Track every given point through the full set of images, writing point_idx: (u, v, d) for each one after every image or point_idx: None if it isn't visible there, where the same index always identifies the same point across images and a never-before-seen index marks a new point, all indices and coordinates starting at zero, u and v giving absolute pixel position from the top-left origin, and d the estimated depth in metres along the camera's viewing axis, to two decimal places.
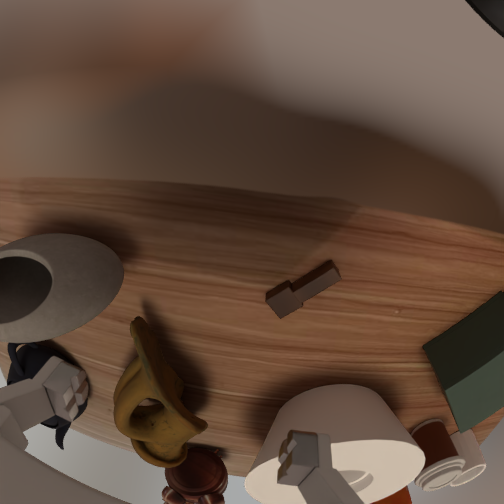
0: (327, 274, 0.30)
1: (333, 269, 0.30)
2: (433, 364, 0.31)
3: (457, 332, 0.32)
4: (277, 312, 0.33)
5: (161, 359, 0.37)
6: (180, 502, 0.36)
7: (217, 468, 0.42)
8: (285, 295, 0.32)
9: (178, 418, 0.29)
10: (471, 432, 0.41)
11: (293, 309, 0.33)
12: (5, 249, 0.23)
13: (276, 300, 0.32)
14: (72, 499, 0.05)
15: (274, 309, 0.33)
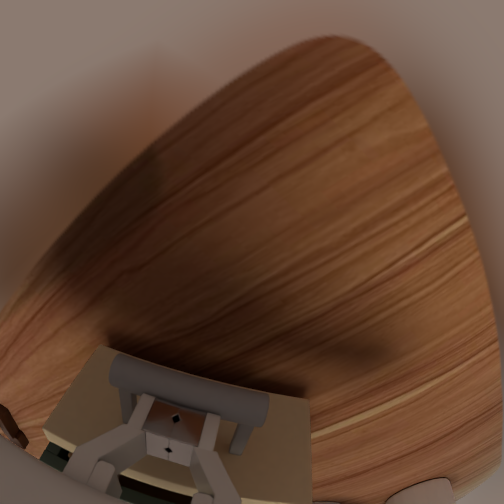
0: None
1: None
2: None
3: None
4: (19, 446, 0.26)
5: None
6: None
7: None
8: None
9: None
10: (425, 489, 0.21)
11: (18, 443, 0.26)
12: None
13: (11, 439, 0.26)
14: (72, 499, 0.05)
15: (16, 444, 0.26)
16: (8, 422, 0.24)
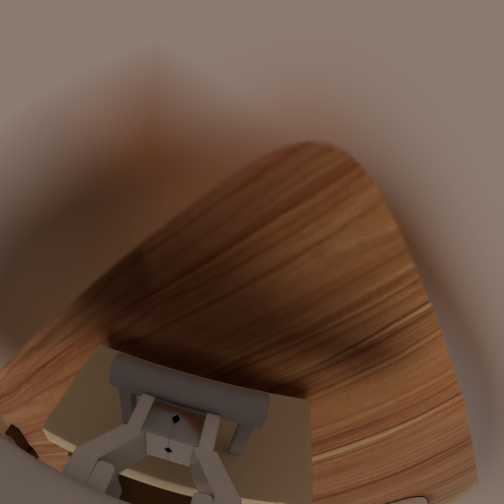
0: (8, 437, 0.25)
1: (5, 434, 0.25)
2: None
3: None
4: None
5: None
6: None
7: None
8: None
9: None
10: None
11: None
12: None
13: None
14: (72, 499, 0.05)
15: None
16: (20, 441, 0.26)
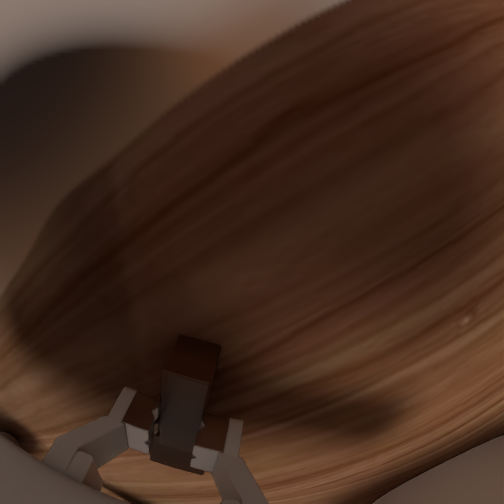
0: (167, 390, 0.09)
1: (166, 374, 0.09)
2: None
3: None
4: (186, 469, 0.12)
5: None
6: None
7: None
8: (162, 446, 0.12)
9: None
10: None
11: None
12: None
13: (161, 456, 0.12)
14: (72, 499, 0.05)
15: (176, 467, 0.12)
16: (208, 397, 0.11)
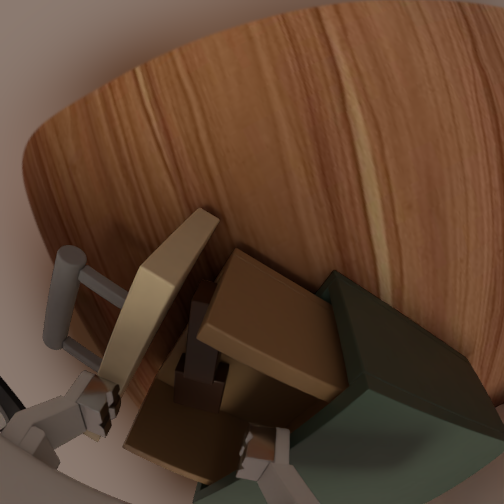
0: (193, 318, 0.13)
1: (193, 303, 0.13)
2: None
3: None
4: (204, 408, 0.16)
5: None
6: None
7: None
8: (185, 383, 0.16)
9: None
10: None
11: (218, 394, 0.16)
12: None
13: (183, 395, 0.16)
14: (72, 499, 0.05)
15: (196, 407, 0.16)
16: None
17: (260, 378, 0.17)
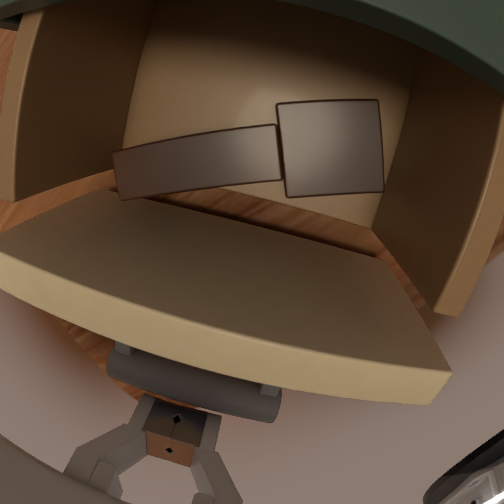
0: (143, 190, 0.09)
1: (122, 196, 0.09)
2: None
3: None
4: (373, 128, 0.08)
5: None
6: None
7: None
8: (313, 174, 0.09)
9: None
10: None
11: (315, 107, 0.08)
12: None
13: (351, 173, 0.08)
14: (72, 499, 0.05)
15: (376, 145, 0.08)
16: None
17: (289, 52, 0.09)
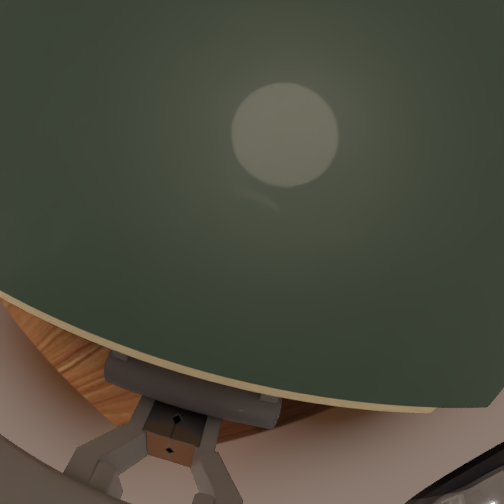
0: None
1: None
2: None
3: None
4: None
5: None
6: None
7: None
8: None
9: None
10: None
11: None
12: None
13: None
14: (72, 499, 0.05)
15: None
16: None
17: None
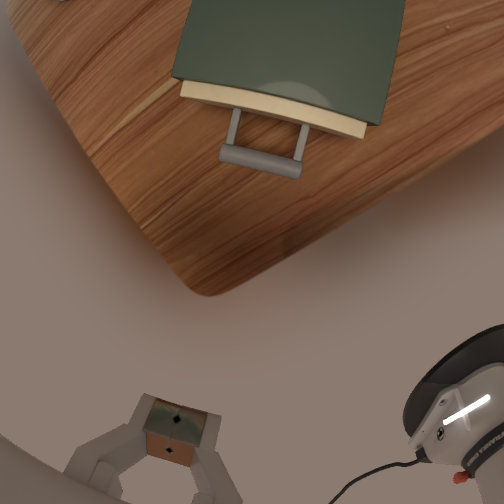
0: None
1: None
2: None
3: None
4: None
5: None
6: None
7: None
8: None
9: None
10: None
11: None
12: None
13: None
14: (72, 499, 0.05)
15: None
16: None
17: None
